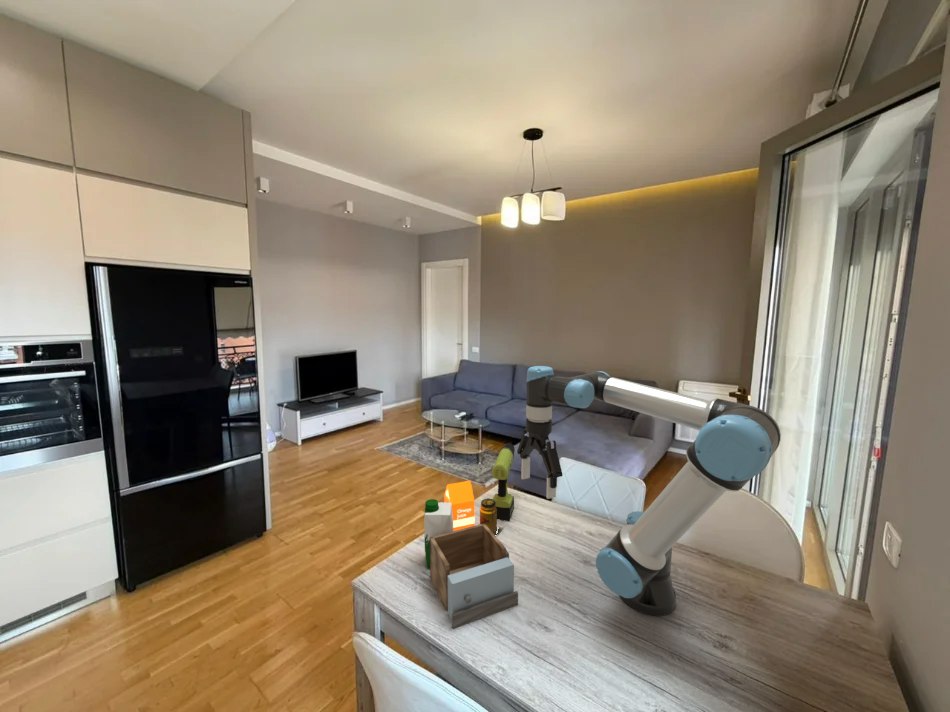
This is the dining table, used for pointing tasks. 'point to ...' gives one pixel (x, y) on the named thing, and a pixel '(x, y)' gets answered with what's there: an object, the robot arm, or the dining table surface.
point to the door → (480, 585)
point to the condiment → (489, 515)
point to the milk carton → (436, 522)
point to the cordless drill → (504, 483)
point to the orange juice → (461, 504)
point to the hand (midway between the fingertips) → (537, 487)
